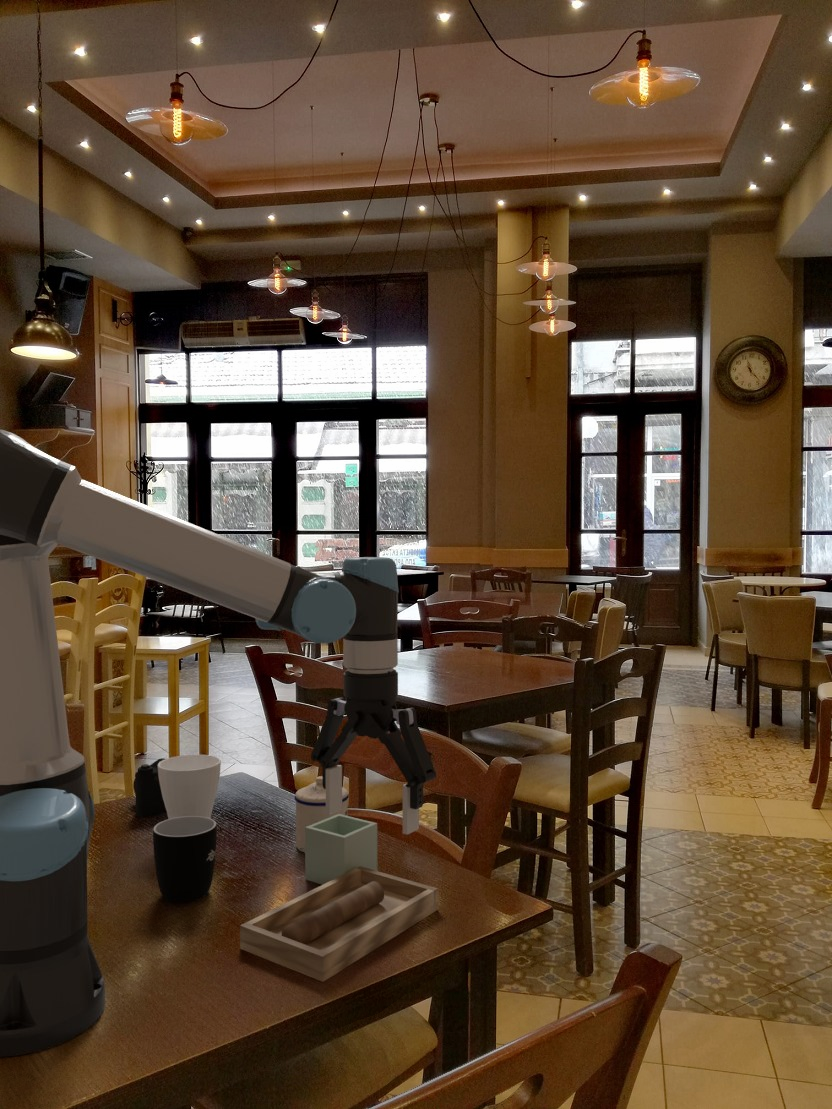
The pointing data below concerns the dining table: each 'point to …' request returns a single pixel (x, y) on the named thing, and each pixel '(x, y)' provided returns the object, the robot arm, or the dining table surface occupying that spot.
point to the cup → (189, 784)
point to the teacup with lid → (313, 808)
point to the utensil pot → (339, 847)
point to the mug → (185, 857)
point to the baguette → (334, 913)
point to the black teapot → (148, 791)
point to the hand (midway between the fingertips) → (371, 821)
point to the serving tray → (346, 940)
